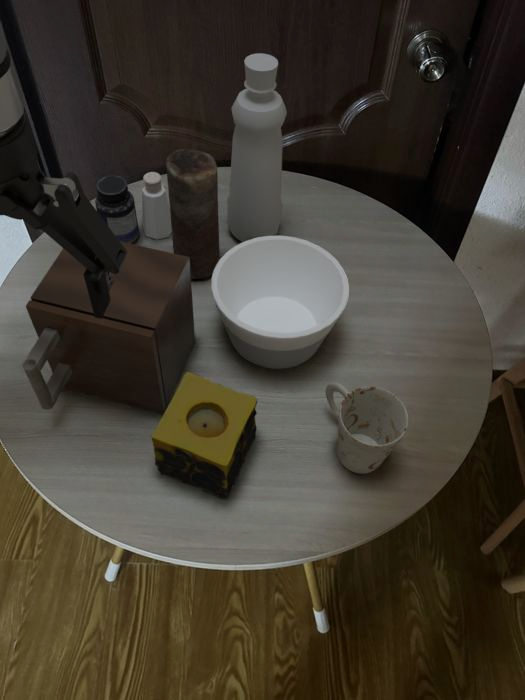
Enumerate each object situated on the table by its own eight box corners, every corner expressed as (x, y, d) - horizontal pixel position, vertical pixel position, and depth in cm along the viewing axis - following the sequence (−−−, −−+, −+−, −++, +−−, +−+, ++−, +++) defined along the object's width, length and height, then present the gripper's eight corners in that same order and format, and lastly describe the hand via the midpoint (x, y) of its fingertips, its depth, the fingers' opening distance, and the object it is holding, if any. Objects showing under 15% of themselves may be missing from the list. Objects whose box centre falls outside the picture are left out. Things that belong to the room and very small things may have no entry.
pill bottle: (102, 226, 106) (91, 173, 97) (138, 223, 106) (130, 170, 98) (103, 251, 102) (91, 199, 93) (140, 248, 103) (132, 195, 94)
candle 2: (189, 409, 85) (185, 368, 77) (257, 435, 83) (260, 395, 75) (154, 473, 79) (146, 435, 71) (227, 501, 77) (227, 466, 69)
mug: (356, 494, 79) (371, 458, 71) (296, 423, 84) (303, 383, 76) (403, 460, 82) (423, 422, 74) (342, 394, 88) (353, 352, 80)
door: (146, 454, 80) (129, 381, 67) (36, 424, 82) (-3, 347, 68) (166, 408, 85) (154, 330, 71) (61, 381, 87) (29, 299, 73)
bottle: (281, 214, 109) (296, 47, 85) (278, 250, 104) (293, 83, 80) (229, 210, 110) (230, 42, 85) (224, 246, 104) (223, 77, 80)
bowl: (309, 273, 101) (317, 223, 93) (359, 364, 91) (373, 317, 82) (196, 300, 97) (193, 250, 88) (235, 399, 86) (236, 353, 78)
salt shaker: (140, 239, 104) (132, 187, 95) (144, 217, 107) (137, 165, 99) (172, 240, 104) (167, 188, 95) (175, 219, 108) (171, 166, 99)
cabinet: (167, 407, 85) (155, 328, 71) (62, 380, 87) (30, 297, 73) (195, 341, 92) (189, 256, 78) (97, 317, 94) (74, 230, 80)
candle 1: (184, 244, 104) (176, 141, 88) (225, 254, 103) (225, 151, 87) (168, 275, 99) (156, 173, 83) (211, 286, 99) (208, 184, 83)
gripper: (-200, 120, 47) (-87, 301, 64) (113, 174, 45) (143, 346, 62) (-143, 69, 52) (-52, 251, 69) (144, 116, 50) (165, 292, 67)
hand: (41, 297), depth 66 cm, fingers open, 13 cm apart
